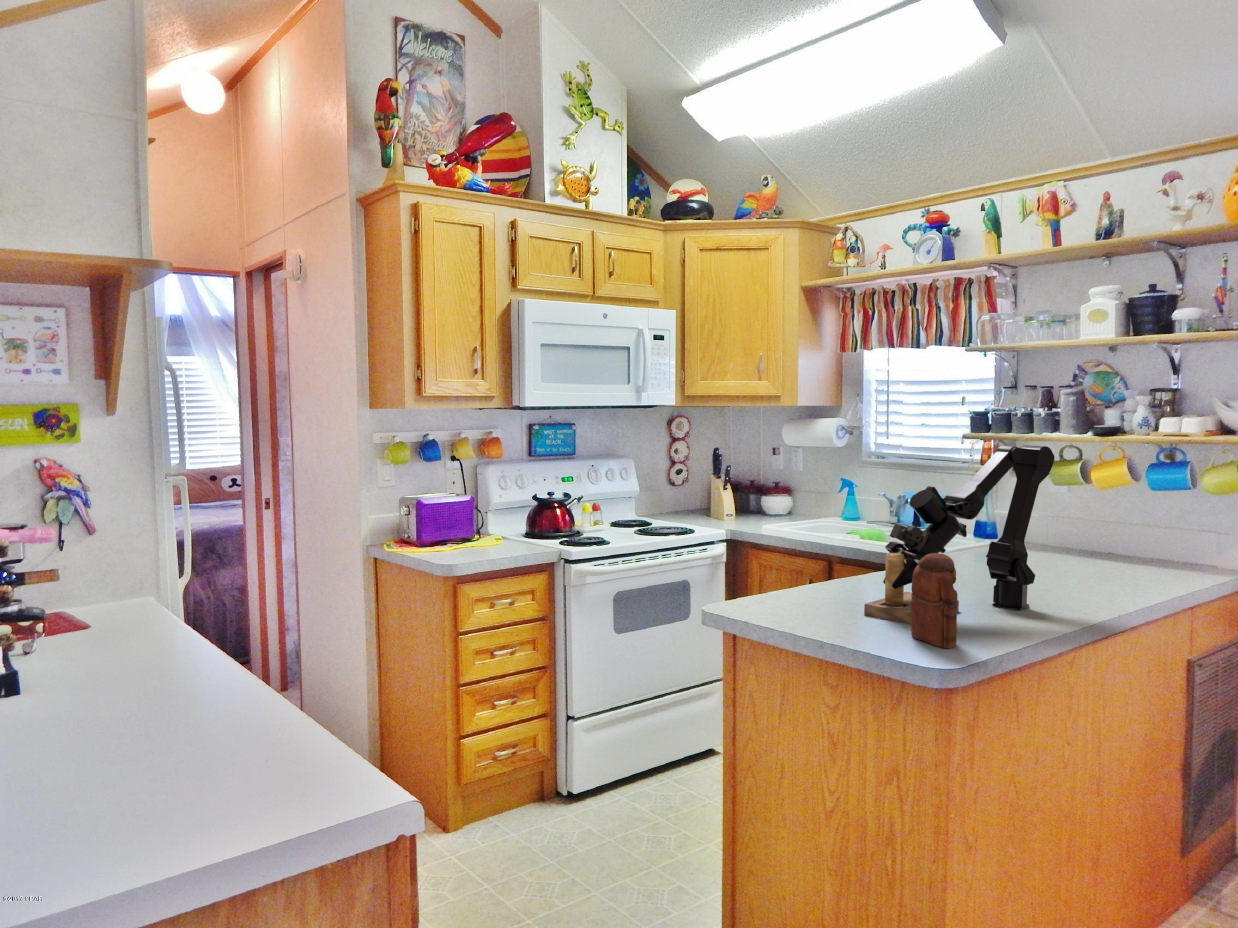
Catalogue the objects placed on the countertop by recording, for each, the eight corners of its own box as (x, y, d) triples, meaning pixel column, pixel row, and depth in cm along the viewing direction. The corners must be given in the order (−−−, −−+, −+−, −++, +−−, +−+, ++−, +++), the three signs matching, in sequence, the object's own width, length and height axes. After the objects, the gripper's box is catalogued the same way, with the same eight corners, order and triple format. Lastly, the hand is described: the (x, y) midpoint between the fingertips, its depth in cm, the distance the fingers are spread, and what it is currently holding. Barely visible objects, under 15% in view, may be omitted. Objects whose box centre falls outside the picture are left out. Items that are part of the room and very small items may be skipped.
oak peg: (906, 615, 197) (907, 554, 196) (897, 618, 194) (898, 556, 193) (890, 612, 200) (891, 552, 199) (881, 615, 197) (882, 554, 196)
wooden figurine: (968, 647, 171) (971, 557, 170) (942, 650, 168) (945, 559, 167) (926, 632, 182) (929, 548, 181) (902, 635, 179) (905, 549, 178)
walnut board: (958, 610, 202) (958, 600, 202) (918, 625, 188) (918, 613, 188) (906, 601, 211) (906, 591, 211) (864, 614, 197) (864, 603, 197)
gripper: (894, 507, 205) (848, 554, 204) (934, 517, 187) (884, 568, 186) (924, 540, 207) (879, 586, 206) (966, 552, 188) (917, 603, 187)
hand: (888, 585), depth 196 cm, fingers closed on oak peg, 4 cm apart
